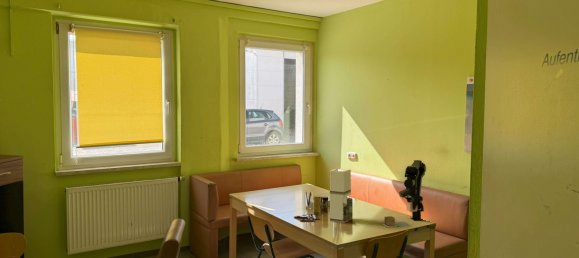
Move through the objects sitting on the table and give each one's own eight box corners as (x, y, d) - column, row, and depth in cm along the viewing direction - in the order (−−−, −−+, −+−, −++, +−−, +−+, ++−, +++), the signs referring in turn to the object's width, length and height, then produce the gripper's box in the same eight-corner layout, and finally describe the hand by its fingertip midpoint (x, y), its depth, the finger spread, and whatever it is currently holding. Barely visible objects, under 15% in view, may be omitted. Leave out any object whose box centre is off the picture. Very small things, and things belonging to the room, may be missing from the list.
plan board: (379, 224, 285) (379, 223, 285) (403, 222, 288) (403, 221, 288) (386, 229, 274) (386, 227, 274) (411, 227, 277) (411, 225, 277)
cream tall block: (344, 223, 290) (343, 171, 288) (330, 221, 295) (329, 170, 293) (351, 219, 299) (350, 169, 298) (337, 217, 305) (336, 168, 303)
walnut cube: (384, 224, 282) (384, 216, 282) (391, 223, 283) (391, 216, 283) (387, 226, 277) (387, 218, 277) (394, 225, 278) (394, 218, 278)
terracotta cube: (406, 209, 285) (406, 202, 285) (413, 209, 286) (413, 202, 286) (410, 211, 280) (410, 204, 280) (417, 211, 281) (417, 203, 281)
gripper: (394, 183, 290) (394, 206, 291) (407, 188, 272) (407, 213, 273) (409, 182, 292) (409, 205, 293) (423, 187, 274) (423, 212, 275)
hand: (411, 209), depth 283 cm, fingers closed on terracotta cube, 5 cm apart
